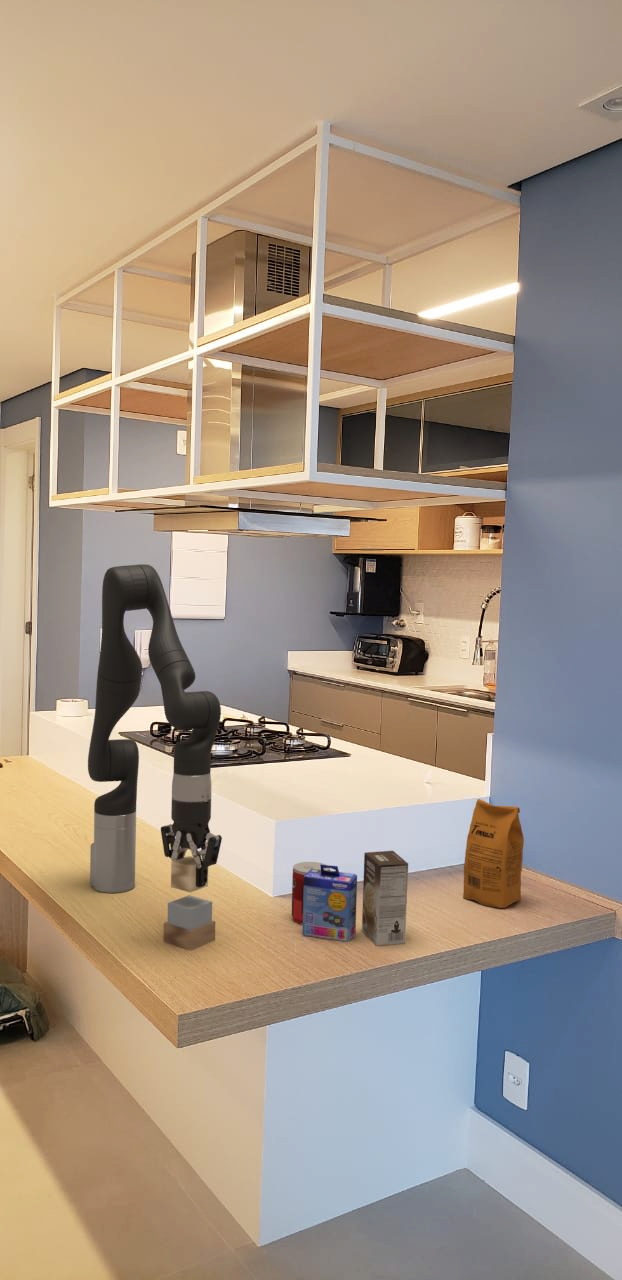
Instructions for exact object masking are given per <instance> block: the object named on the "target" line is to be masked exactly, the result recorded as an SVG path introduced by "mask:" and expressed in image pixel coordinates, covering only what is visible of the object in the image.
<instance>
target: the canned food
mask: <svg viewBox="0 0 622 1280" xmlns="http://www.w3.org/2000/svg"><path fill="white" fill-rule="evenodd" d="M320 864H322V865H327V864H326V863H322V862H318V861H301V862H297V863H295V864H293V867H292V877H291V878H292V882H291V883H292V884H291V885H292V886H291V890H292V891H291V917H292V920H293V921H294V922H295V921H296V923H297V922H298V924H300V923H301V924H300V925H303V893H304V876H305V874H306V873H308V872H309V871H310V870H311V869H318V870H321V866H320ZM324 870H330V871H331V868H324Z"/></svg>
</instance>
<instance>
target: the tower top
mask: <svg viewBox="0 0 622 1280" xmlns="http://www.w3.org/2000/svg"><path fill="white" fill-rule="evenodd" d="M212 920H213V901H212V900H209V899H205V898H204V899H203V898H200V897H197V896H194V895H193V896H192V895H190V894H189V895H186V896H183V897H181V898H177V899H175V900H172V901H170V902H167V922H168V924H171V925H174V926H178V927H181V928H184V929H187V930H194V929H196V928H199V927H201V926H203V925H206V924H208V923H211V922H212Z"/></svg>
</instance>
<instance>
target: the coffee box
mask: <svg viewBox="0 0 622 1280" xmlns="http://www.w3.org/2000/svg"><path fill="white" fill-rule="evenodd" d="M363 857H364V860H363V888H362V890H363V891H362V910H361V912H362V914H361V916H362V918H361V919H362V920H361V930H362V931H363V932H364V934H365V935H367V937H368V938H369V939H370V940H371V941H372V942H373V943H374V945H376V946H386V945H387V946H388V945H390V946H391V945H400V944H405V943H406V931H407V930H406V927H407V926H406V923H407V903H408V902H407V900H408V878H409V877H408V876H409V863H408V862H407V861H406V860H405V859H404V858H403V857H401V856H400V854H399V855H398V853H396V852H395V851H394V850H383V851H369V852H368V851H367V852H364V856H363Z"/></svg>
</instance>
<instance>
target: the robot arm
mask: <svg viewBox="0 0 622 1280" xmlns="http://www.w3.org/2000/svg"><path fill="white" fill-rule="evenodd" d="M101 592H102V593H101V641H100V651H99V652H100V653H99V659H98V666H97V675H96V677H97V678H96V689H95V690H96V691H95V707H94V718H93V724H92V731H91V737H90V743H89V747H88V756H87V772H88V775H89V777H90V779H91V780H92V781H93V782H99V783H105V782H120V783H119V785H118V786H116V787H115V788H114V789H112V790H110V791H108V792H106V793H104V794H101V795H99V796H98V797H96V798H95V799H94V805H93V807H94V808H93V812H94V813H93V816H94V817H93V821H94V822H93V842H92V843H91V844H90V856H89V857H90V860H89V861H90V864H89V865H90V867H89V868H90V869H89V871H90V872H89V875H90V876H89V886H91V887H92V888H93V889H94V890H95V891H97V892H102V893H112V894H113V893H114V894H115V893H123V892H127V891H130V890H133V889H134V888H135V887H136V855H137V854H136V852H137V851H136V846H137V844H136V843H137V841H136V840H137V799H138V798H137V797H138V795H137V794H138V780H139V779H138V778H139V777H138V776H139V763H140V753H139V752H140V751H139V746H138V744H137V742H136V741H135V740H134V739H131V738H130V739H129V738H126V739H125V738H123V739H110V737H111V734H112V733H113V730H114V729H115V727H116V725H117V724H118V723H119V721H120V720H121V719H122V717H124V716H125V715H126V713H127V712H128V711H129V710H130V708H132V706H133V705H134V704H135V702H136V701H137V700H138V698H139V696H140V692H141V683H142V676H143V674H142V673H143V663H142V660H141V658H140V656H139V654H138V652H137V651H136V649H135V647H134V646H133V644H132V642H131V641H130V639H129V637H128V636H127V634H126V631H125V627H124V626H125V625H124V624H125V621H124V619H125V617H124V616H125V613H126V612H128V611H137V610H138V611H140V610H147V611H148V612H149V614H150V616H151V617H152V629H151V633H150V637H149V642H148V648H147V649H148V651H147V652H148V659H149V662H150V665H151V667H152V670H153V671H154V674H155V676H156V679H157V680H158V682H159V685H160V688H161V695H162V701H163V709H164V715H165V719H166V721H167V722H168V724H169V725H170V726H171V727H173V728H174V729H176V730H179V731H186V730H192V731H191V734H190V736H189V737H187V739H183V740H181V741H179V742H177V743H176V744H175V746H174V749H173V775H172V782H171V808H170V809H171V812H170V813H171V816H170V817H171V818H170V819H171V821H172V822H173V823H172V824H171V823H170V824H167V825H163V826H160V834H161V835H160V836H161V840H162V847H163V853H164V857H165V858H169V859H170V860H171V861H175V860H178V859H181V858H184V857H186V855H187V854H186V853H187V851H188V850H190V853H191V857H194V858H195V861H196V866H197V868H196V887H199V888H200V887H203V886H205V884H206V883H207V871H208V872H209V867H210V866H215V865H216V864H217V862H218V859H219V854H220V849H221V845H222V839H223V837H222V835H221V834H218V835H217V834H216V835H215V834H213V833H212V832H211V830H210V826H209V823H210V821H211V818H212V777H211V775H212V774H211V770H212V769H211V767H212V766H211V762H212V759H211V758H212V749H213V745H214V742H215V739H216V738H215V737H216V735H217V731H218V728H219V725H220V721H221V717H222V707H221V703H220V700H219V698H218V697H217V695H216V694H215V693H213V692H212V691H208V690H200V691H187V692H186V690H187V689H188V688H190V687H191V686H192V685H193V684H194V683H195V680H196V672H195V669H194V667H193V665H192V662H191V660H190V659H189V657H188V655H187V653H186V651H185V648H184V647H183V645H182V641H181V640H180V638H179V634H178V633H177V630H176V626H175V622H174V619H173V615H172V612H171V609H170V608H171V607H170V605H169V601H168V598H167V595H166V592H165V588H164V586H163V583H162V579H161V577H160V575H159V573H158V572H157V570H156V569H155V568H154V567H153V565H150V564H131V565H130V564H129V565H118V566H112V567H109V568H108V569H107V570H106V572H105V573H104V576H103V581H102V590H101ZM202 860H203V861H202Z"/></svg>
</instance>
